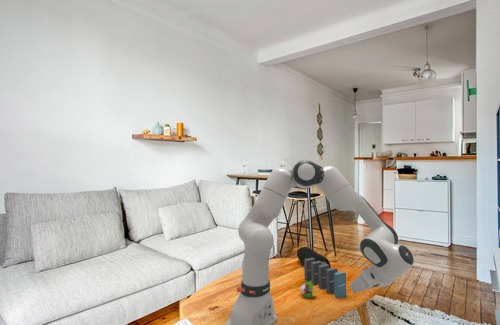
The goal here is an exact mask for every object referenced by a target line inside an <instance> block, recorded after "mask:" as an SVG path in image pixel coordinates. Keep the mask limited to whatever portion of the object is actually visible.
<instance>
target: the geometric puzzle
mask: <svg viewBox="0 0 500 325" xmlns="http://www.w3.org/2000/svg"><path fill="white" fill-rule="evenodd" d="M313 284H314V283H311V281H306V280H304V284H301V286H300V287H299V289H300V291H301V292H302V293H303V294H302V296H303V297H305V298H309V299H312V298H313V297H314V295H315V294H314V293H317V292H318V291H317V289H316V287H314V285H313ZM313 294H314V295H313Z"/></svg>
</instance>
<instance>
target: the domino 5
mask: <svg viewBox="0 0 500 325" xmlns="http://www.w3.org/2000/svg"><path fill="white" fill-rule="evenodd" d="M333 293H334V298H336V299H341V298H344V297H346V296H347V272H346V271H344V270H342V271H339V272H338V271H337V273H334V292H333Z"/></svg>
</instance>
